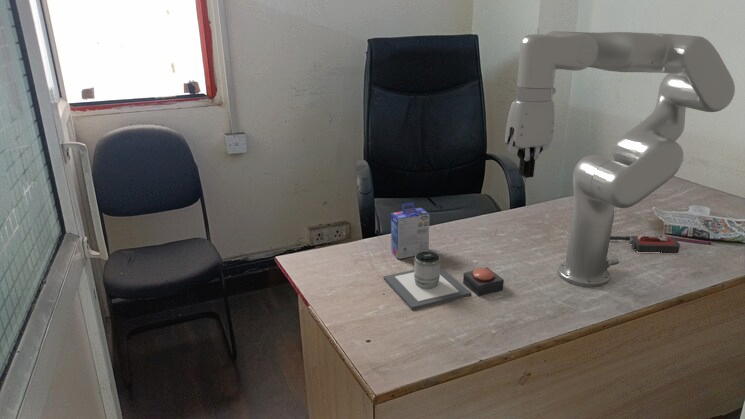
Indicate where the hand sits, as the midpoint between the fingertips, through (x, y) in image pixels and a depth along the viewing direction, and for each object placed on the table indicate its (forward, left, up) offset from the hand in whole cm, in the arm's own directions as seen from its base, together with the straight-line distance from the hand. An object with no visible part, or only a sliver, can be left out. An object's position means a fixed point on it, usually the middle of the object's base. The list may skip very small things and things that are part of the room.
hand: (526, 175), depth 122 cm
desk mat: (+20, -9, -29) cm, 36 cm away
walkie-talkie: (-47, -5, -30) cm, 56 cm away
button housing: (+7, -3, -29) cm, 30 cm away
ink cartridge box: (+15, -28, -29) cm, 43 cm away
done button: (+7, -4, -28) cm, 29 cm away
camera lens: (+20, -9, -28) cm, 36 cm away
